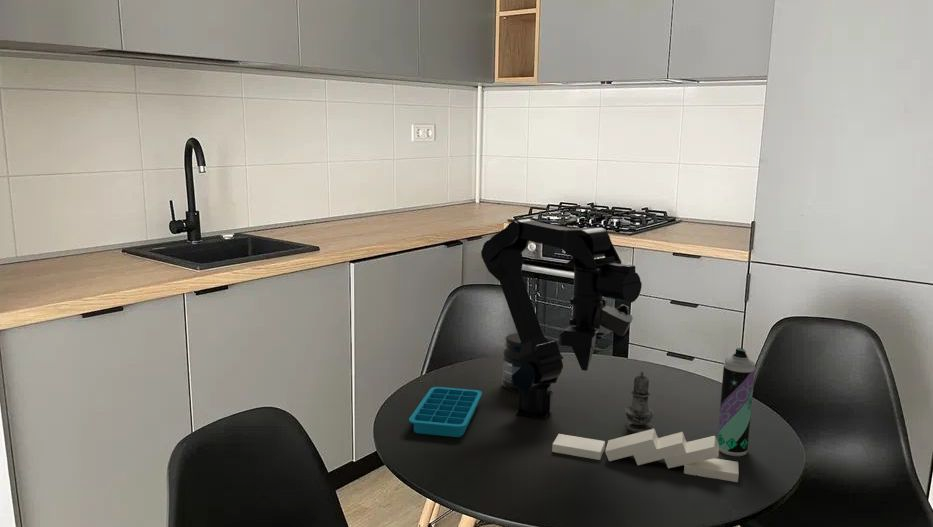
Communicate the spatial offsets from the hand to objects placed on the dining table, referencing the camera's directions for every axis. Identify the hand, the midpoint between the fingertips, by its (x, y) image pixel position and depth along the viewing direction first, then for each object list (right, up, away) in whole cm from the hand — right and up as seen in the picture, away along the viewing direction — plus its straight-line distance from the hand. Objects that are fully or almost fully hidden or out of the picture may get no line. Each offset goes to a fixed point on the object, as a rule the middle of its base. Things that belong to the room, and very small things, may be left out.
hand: (584, 370), depth 142 cm
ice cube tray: (-27, -12, +9) cm, 31 cm away
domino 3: (+8, -14, -9) cm, 19 cm away
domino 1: (-6, -13, -4) cm, 15 cm away
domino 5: (+16, -15, -12) cm, 25 cm away
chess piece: (+12, -13, +5) cm, 18 cm away
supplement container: (-10, -8, +27) cm, 30 cm away
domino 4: (+13, -14, -11) cm, 22 cm away
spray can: (+27, -15, -5) cm, 31 cm away
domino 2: (+3, -14, -8) cm, 16 cm away
